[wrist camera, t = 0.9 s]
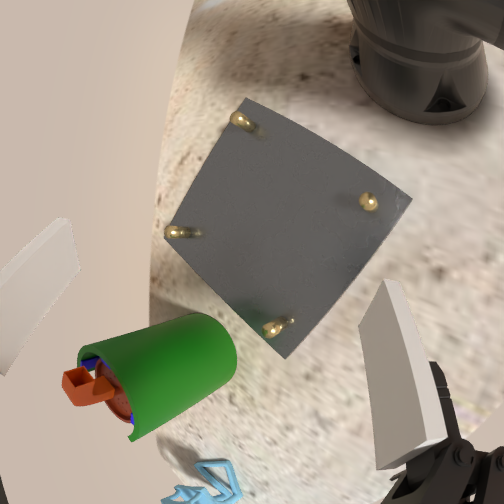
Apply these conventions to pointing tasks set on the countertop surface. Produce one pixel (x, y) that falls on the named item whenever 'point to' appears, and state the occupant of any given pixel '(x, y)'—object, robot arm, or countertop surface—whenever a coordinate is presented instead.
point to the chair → (199, 498)
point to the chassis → (282, 223)
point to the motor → (154, 371)
